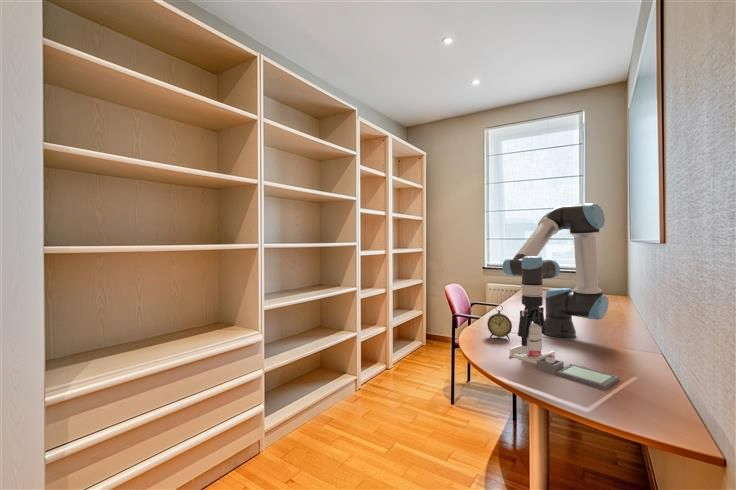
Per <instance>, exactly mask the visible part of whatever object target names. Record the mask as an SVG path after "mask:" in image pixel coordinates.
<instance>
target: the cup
mask: <svg viewBox="0 0 736 490" xmlns="http://www.w3.org/2000/svg"><path fill="white" fill-rule="evenodd" d="M564 364H565V363H564V361H562V360H558V359H555V364H554V365H553V364H550V363H546V362H545V357H544V358H542V359H539V360H537V364H536V370H540V371H543V372H545V373H549V374H552V375H555V371H557V370H559V369H561V368H563V367H565V366H564Z"/></svg>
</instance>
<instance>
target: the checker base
mask: <svg viewBox="0 0 736 490" xmlns="http://www.w3.org/2000/svg"><path fill="white" fill-rule="evenodd" d="M572 366H576V367H580V368H583V369H587V370H590V371H594V372H598V373H601V374H605V375H609V376H612V378H610V379H609V380H607V381H606V382H604V383H602V384H601V383H598V382H595V381H591V380H588V379H584V378H581V377H578V376H574V375H571V374H567V373H564V372H562V371H564V370H566V369H568V368H570V367H572ZM554 375H556V376H558V377H561V378H565V379H567V380H571V381H574V382H578V383H581V384H584V385H588V386H590V387H593V388H594V387H595V388H597V389H601V390H602V391H603V390H604V391H606V390H607V389H608V388H610V387H612V386H613V385H615V384H616V383H618V382H619V381H620V376H617V375H614V374H611V373H607V372H603V371H599V370H595V369H594V368H593V369H592V368H588V367H584V366H580V365H577V364H573V363H569V364H566V366H564V367H563V368H561V369H559V370H557V371H555V374H554Z"/></svg>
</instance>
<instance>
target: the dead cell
mask: <svg viewBox="0 0 736 490" xmlns="http://www.w3.org/2000/svg"><path fill="white" fill-rule="evenodd" d="M555 360H556V356H555V357H554V356H552V355H546V356H545V362H546V363H550V364H553V365H554V364H555Z"/></svg>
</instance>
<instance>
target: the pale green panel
mask: <svg viewBox="0 0 736 490" xmlns="http://www.w3.org/2000/svg"><path fill="white" fill-rule="evenodd" d="M562 372H564V373H567V374H571V375H574V376H578V377H581V378H584V379H588V380H591V381H595V382H598V383H601V384H602V383H604V382H606V381H607V380H609V379H610V378H612V376H609V375H605V374H601V373H598V372H594V371H590V370H587V369H583V368H580V367H576V366H572V367H570V368H568V369H566V370H564V371H562Z"/></svg>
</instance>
